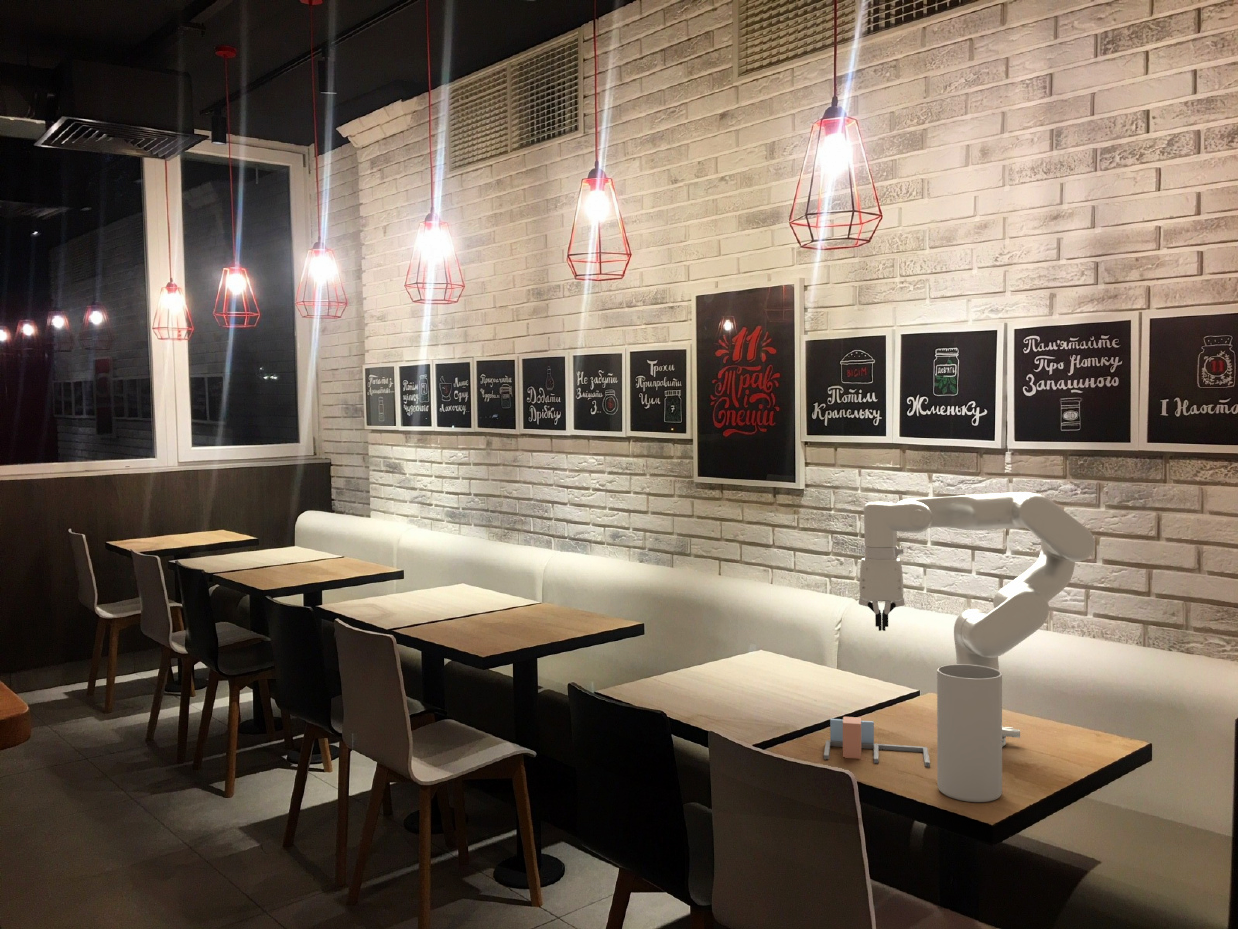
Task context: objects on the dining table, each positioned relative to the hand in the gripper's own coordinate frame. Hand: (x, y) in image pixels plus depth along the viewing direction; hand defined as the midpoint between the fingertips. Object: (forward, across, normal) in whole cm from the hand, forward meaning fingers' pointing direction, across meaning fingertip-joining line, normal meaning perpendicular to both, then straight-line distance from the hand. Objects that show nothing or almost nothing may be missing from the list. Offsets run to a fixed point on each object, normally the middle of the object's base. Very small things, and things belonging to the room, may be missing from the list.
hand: (881, 629), depth 232 cm
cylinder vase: (+27, -16, +31) cm, 44 cm away
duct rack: (+27, +2, +11) cm, 29 cm away
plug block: (+27, +7, +12) cm, 30 cm away
